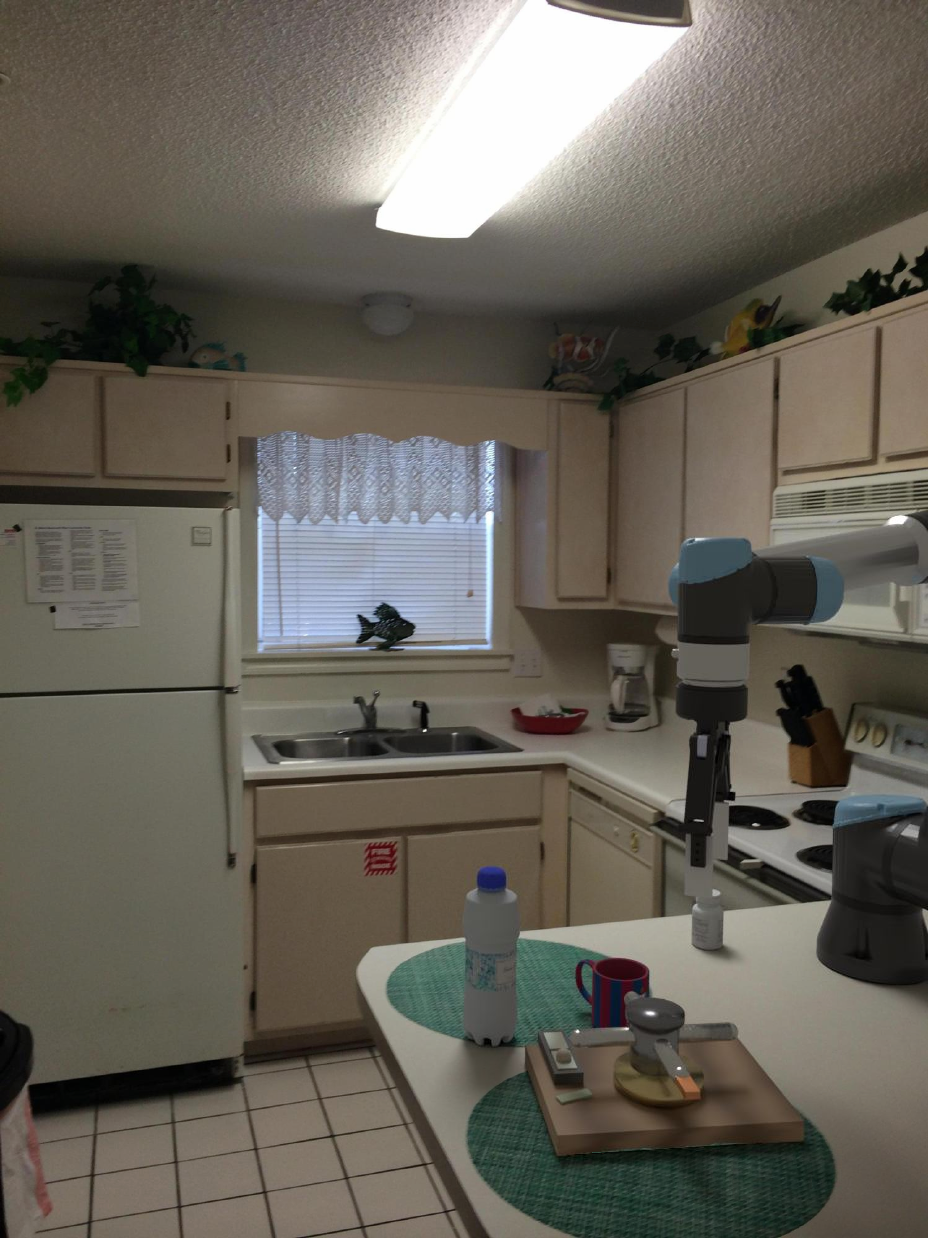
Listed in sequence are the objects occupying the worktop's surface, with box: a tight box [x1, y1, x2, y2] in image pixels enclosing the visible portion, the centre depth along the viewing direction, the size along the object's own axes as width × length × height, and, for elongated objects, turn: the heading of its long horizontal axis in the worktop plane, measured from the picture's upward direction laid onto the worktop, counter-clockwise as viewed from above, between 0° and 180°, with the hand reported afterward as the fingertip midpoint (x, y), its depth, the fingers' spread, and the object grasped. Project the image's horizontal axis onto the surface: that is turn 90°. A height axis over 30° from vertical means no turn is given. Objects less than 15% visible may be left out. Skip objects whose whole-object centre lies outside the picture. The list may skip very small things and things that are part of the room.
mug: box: [574, 957, 651, 1028], centre depth 118 cm, size 7×10×7 cm
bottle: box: [461, 865, 522, 1047], centre depth 113 cm, size 7×7×20 cm
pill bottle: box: [691, 888, 725, 951], centre depth 141 cm, size 4×4×8 cm
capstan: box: [568, 991, 739, 1107], centre depth 100 cm, size 18×20×7 cm
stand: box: [524, 1029, 805, 1157], centre depth 101 cm, size 24×18×4 cm
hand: (707, 876), depth 107 cm, fingers open, 13 cm apart
